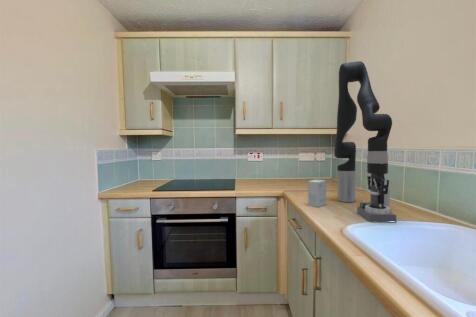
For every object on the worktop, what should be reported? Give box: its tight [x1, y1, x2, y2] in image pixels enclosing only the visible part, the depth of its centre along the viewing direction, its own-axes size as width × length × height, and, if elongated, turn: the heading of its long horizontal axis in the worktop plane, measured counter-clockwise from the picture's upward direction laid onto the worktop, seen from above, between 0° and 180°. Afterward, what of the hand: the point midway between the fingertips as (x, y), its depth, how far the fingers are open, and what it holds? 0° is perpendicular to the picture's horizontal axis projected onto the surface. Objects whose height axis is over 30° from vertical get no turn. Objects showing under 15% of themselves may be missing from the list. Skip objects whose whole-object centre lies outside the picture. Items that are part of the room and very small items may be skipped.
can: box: [384, 187, 391, 208], centre depth 115 cm, size 8×8×12 cm
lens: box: [369, 186, 384, 209], centre depth 100 cm, size 5×5×10 cm
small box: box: [307, 179, 327, 208], centre depth 127 cm, size 8×6×13 cm
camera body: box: [356, 200, 397, 222], centre depth 103 cm, size 14×10×6 cm
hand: (377, 202), depth 100 cm, fingers closed on lens, 5 cm apart
